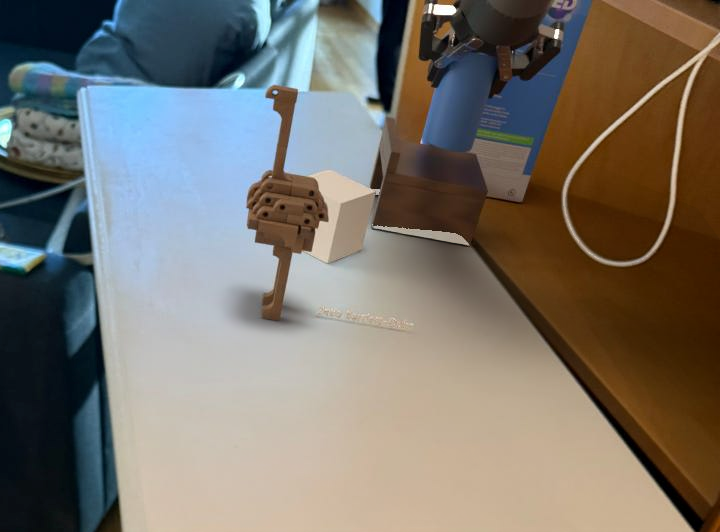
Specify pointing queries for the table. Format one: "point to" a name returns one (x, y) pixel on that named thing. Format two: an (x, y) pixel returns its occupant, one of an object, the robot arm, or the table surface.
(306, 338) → the table surface
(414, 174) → the dark brown wooden box
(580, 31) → the string lights box
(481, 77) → the blue cylinder
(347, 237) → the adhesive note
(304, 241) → the brown mechanical linkage
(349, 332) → the table surface
